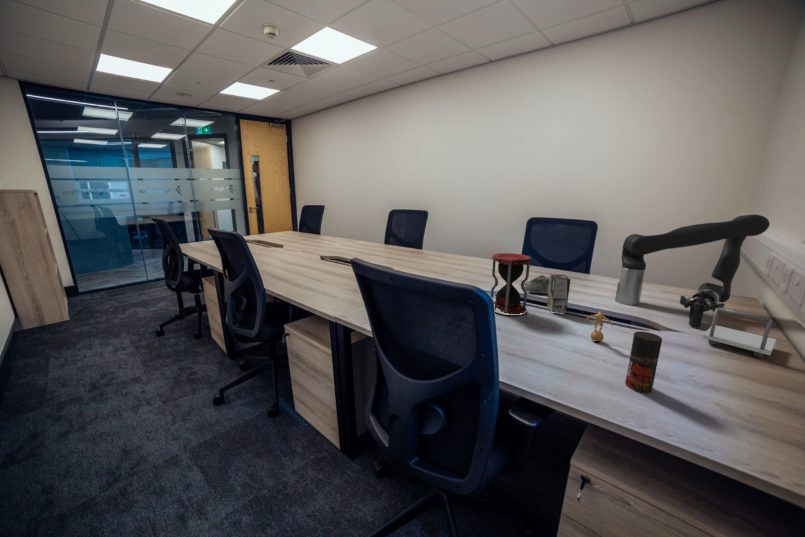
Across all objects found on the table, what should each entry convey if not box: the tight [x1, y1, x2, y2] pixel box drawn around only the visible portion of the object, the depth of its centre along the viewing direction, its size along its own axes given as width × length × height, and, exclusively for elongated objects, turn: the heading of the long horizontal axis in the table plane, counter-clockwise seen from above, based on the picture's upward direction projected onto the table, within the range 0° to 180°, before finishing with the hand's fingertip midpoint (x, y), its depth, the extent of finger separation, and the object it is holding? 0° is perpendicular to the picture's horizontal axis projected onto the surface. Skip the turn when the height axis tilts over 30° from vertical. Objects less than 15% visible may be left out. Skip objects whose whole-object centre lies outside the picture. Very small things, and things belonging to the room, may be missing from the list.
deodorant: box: [624, 331, 663, 394], centre depth 86 cm, size 6×6×15 cm
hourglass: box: [490, 252, 532, 314], centre depth 144 cm, size 16×16×25 cm
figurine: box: [585, 311, 614, 342], centre depth 113 cm, size 8×6×12 cm
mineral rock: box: [524, 274, 550, 295], centre depth 172 cm, size 13×11×10 cm
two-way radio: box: [688, 291, 705, 329], centre depth 128 cm, size 6×4×15 cm
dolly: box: [702, 308, 777, 358], centre depth 110 cm, size 16×15×14 cm
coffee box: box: [546, 273, 571, 314], centre depth 144 cm, size 9×6×16 cm
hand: (695, 307), depth 126 cm, fingers closed on two-way radio, 4 cm apart
